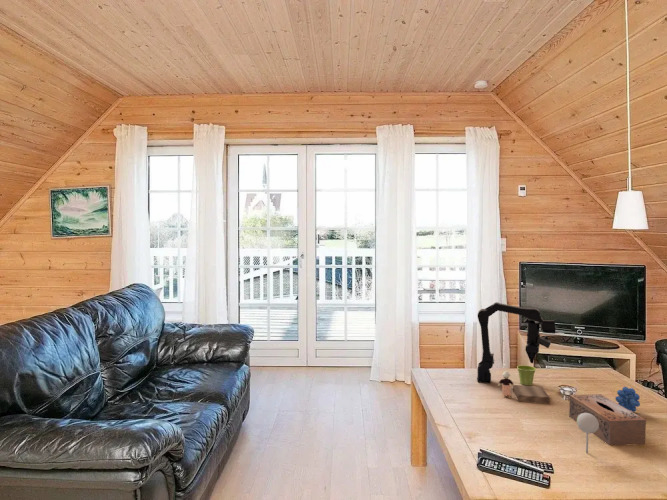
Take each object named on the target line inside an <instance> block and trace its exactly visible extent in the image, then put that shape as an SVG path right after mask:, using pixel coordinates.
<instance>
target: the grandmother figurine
mask: <svg viewBox="0 0 667 500" xmlns="http://www.w3.org/2000/svg"><path fill="white" fill-rule="evenodd" d="M501 376H502V377H503V378H502V379H500V380H499V381H498V384H497V387H500V386H501V385H502V390H501V391H502V395H501V396H502V397H503V399H504V398H508V399H511V398H512V393H511V391H512V389H511V387H512V388H513V387H514V385H515V384H514V382H513V381H512V380H511V378H509V377H510V373H509V371H503V373H502V375H501Z"/></svg>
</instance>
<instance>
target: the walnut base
mask: <svg viewBox="0 0 667 500" xmlns="http://www.w3.org/2000/svg"><path fill="white" fill-rule="evenodd" d="M512 392H513V393H514V395H515V398H516V399H517V401H518V402H524V403H525V402H526V403H539V404H550V398H551V397H550V396H549V394H548V393H547V392H546V390H545V389H544V388H543V386H535V385H523V384H521V385H518V384H514V387H512Z"/></svg>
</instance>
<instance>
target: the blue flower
mask: <svg viewBox="0 0 667 500" xmlns="http://www.w3.org/2000/svg"><path fill="white" fill-rule="evenodd" d="M616 393H617V395H616V397H615V401H616V403H617V404H619V405H621V406H623V407H624V408H626V409H628V410H630V411H631V412H633V413H635V412H636V411H637V408H639V407H640V406H641V403H640V394H638V393H636V390H635V389H634V388H632V387H630V388H629V387H627V386H623V387H622V388H621V389H618V390H617V391H616Z"/></svg>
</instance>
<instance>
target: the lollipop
mask: <svg viewBox="0 0 667 500" xmlns="http://www.w3.org/2000/svg"><path fill="white" fill-rule="evenodd" d="M576 425H577V427H578V429H579V430H580V431H582V432H583V433H586V434H585V453H586V454H588V453H589V434H593V433H594V432H596V431H597V429H598V427H599V423H598V420H597V419H596V417H595V416H593V415H592V414H589V413H582V414H580V415H579V416H578V417H577V422H576Z"/></svg>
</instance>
